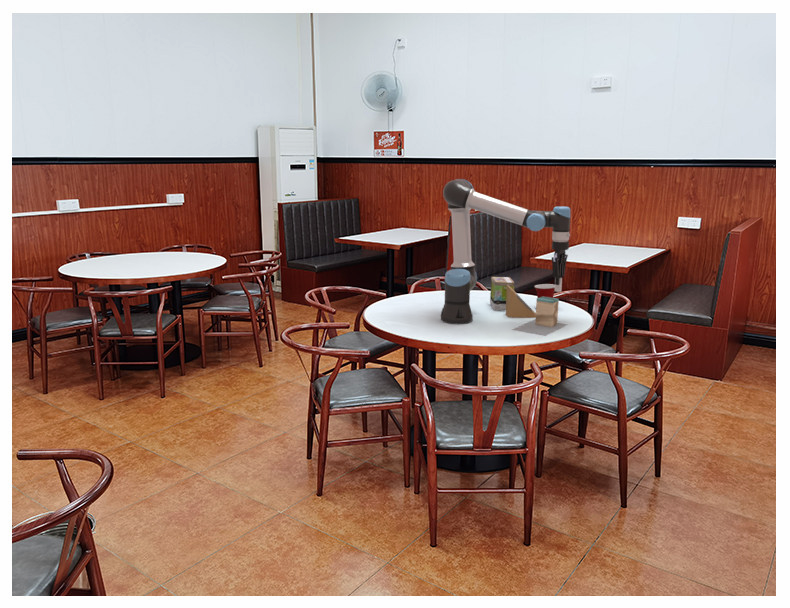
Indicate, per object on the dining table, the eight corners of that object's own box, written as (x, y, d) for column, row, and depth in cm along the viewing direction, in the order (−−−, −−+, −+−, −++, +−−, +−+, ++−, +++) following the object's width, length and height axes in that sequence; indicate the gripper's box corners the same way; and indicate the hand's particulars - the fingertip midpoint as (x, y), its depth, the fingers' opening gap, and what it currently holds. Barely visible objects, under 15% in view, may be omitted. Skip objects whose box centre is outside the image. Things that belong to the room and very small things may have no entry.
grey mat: (545, 336, 265) (545, 335, 265) (511, 330, 275) (511, 329, 275) (568, 325, 284) (568, 324, 284) (535, 319, 293) (535, 318, 293)
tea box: (513, 311, 310) (514, 282, 307) (493, 310, 310) (494, 281, 307) (508, 304, 325) (510, 276, 321) (489, 303, 325) (490, 276, 322)
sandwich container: (540, 318, 296) (542, 288, 292) (508, 318, 296) (509, 287, 292) (536, 314, 304) (538, 284, 300) (505, 314, 304) (506, 284, 301)
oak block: (551, 327, 279) (553, 301, 276) (535, 324, 284) (536, 298, 281) (557, 324, 284) (558, 298, 281) (540, 321, 288) (542, 296, 286)
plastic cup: (536, 304, 323) (537, 282, 320) (557, 307, 318) (558, 284, 316) (530, 309, 313) (532, 286, 311) (552, 311, 309) (554, 288, 306)
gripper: (562, 243, 276) (559, 294, 281) (574, 239, 286) (571, 290, 291) (546, 241, 280) (544, 292, 285) (558, 238, 290) (556, 288, 295)
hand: (557, 291), depth 288 cm, fingers closed
